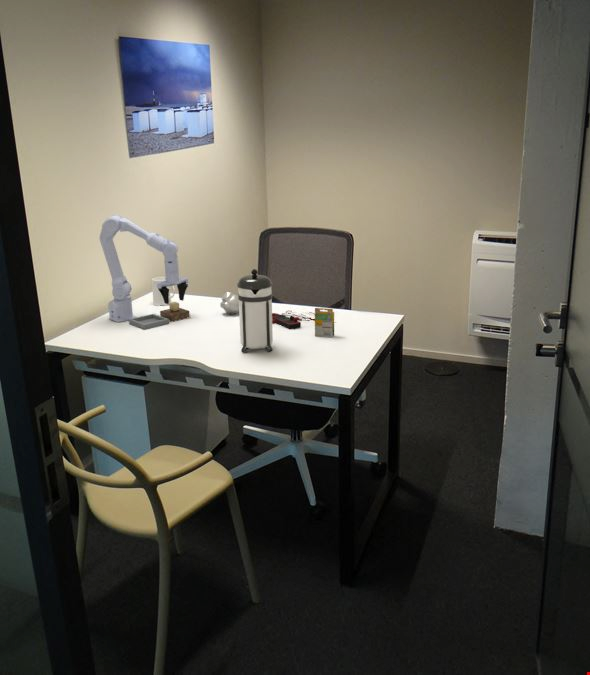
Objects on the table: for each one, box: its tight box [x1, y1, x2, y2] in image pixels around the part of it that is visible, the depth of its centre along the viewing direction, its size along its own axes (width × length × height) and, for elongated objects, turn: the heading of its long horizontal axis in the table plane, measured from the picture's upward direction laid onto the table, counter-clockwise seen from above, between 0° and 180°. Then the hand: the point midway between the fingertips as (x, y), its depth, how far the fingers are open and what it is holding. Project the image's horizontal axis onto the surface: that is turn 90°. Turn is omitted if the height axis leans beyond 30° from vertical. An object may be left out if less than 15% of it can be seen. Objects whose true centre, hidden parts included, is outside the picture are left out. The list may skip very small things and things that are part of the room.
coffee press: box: [236, 268, 274, 354], centre depth 249 cm, size 17×16×30 cm
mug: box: [151, 276, 176, 306], centre depth 314 cm, size 12×8×12 cm
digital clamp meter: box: [272, 310, 315, 330], centre depth 287 cm, size 23×4×25 cm
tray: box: [128, 313, 170, 330], centre depth 285 cm, size 12×12×2 cm
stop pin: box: [168, 301, 180, 312], centre depth 293 cm, size 3×3×6 cm
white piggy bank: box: [219, 291, 239, 315], centre depth 297 cm, size 9×10×10 cm
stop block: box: [159, 307, 191, 322], centre depth 293 cm, size 9×9×3 cm
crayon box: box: [314, 307, 335, 338], centre depth 264 cm, size 7×3×12 cm, turn 74°
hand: (174, 301), depth 292 cm, fingers open, 7 cm apart
